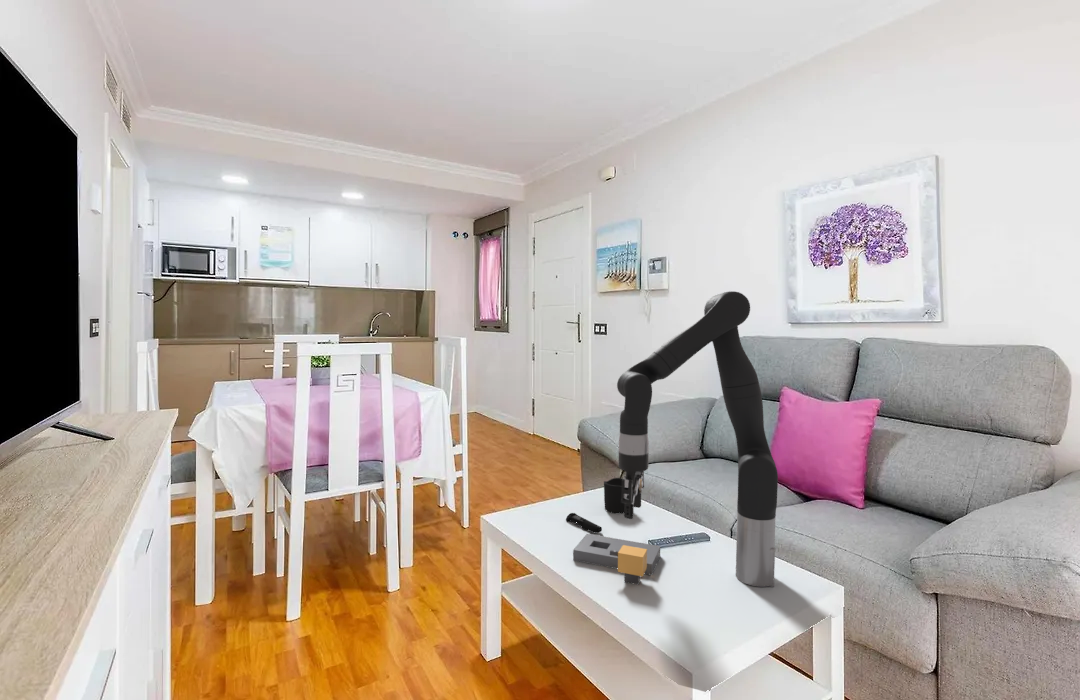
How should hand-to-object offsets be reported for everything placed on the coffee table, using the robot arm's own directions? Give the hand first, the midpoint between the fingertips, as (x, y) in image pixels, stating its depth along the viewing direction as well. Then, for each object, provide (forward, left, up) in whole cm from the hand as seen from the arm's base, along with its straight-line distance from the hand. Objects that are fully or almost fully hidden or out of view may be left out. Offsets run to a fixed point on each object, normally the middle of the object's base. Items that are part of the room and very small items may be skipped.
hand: (632, 512), depth 135 cm
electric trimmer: (+23, -29, -19) cm, 41 cm away
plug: (+1, 0, -18) cm, 18 cm away
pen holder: (+17, -48, -18) cm, 54 cm away
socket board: (+7, -11, -18) cm, 22 cm away
